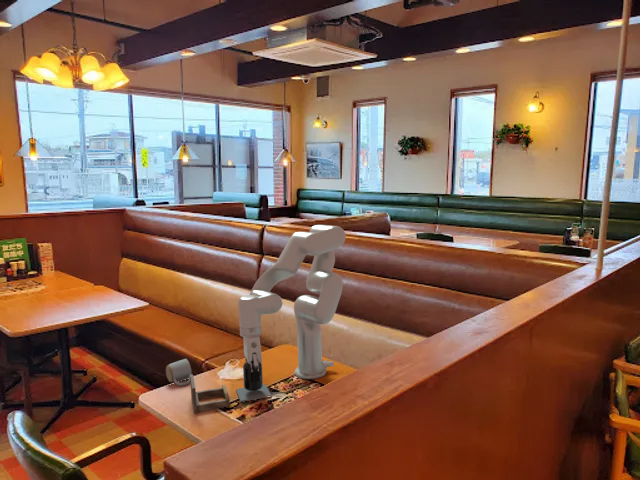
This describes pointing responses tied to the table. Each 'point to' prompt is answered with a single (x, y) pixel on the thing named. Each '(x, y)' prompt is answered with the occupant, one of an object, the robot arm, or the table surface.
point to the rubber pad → (252, 393)
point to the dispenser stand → (207, 394)
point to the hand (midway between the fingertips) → (253, 377)
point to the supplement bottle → (246, 375)
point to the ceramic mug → (179, 372)
